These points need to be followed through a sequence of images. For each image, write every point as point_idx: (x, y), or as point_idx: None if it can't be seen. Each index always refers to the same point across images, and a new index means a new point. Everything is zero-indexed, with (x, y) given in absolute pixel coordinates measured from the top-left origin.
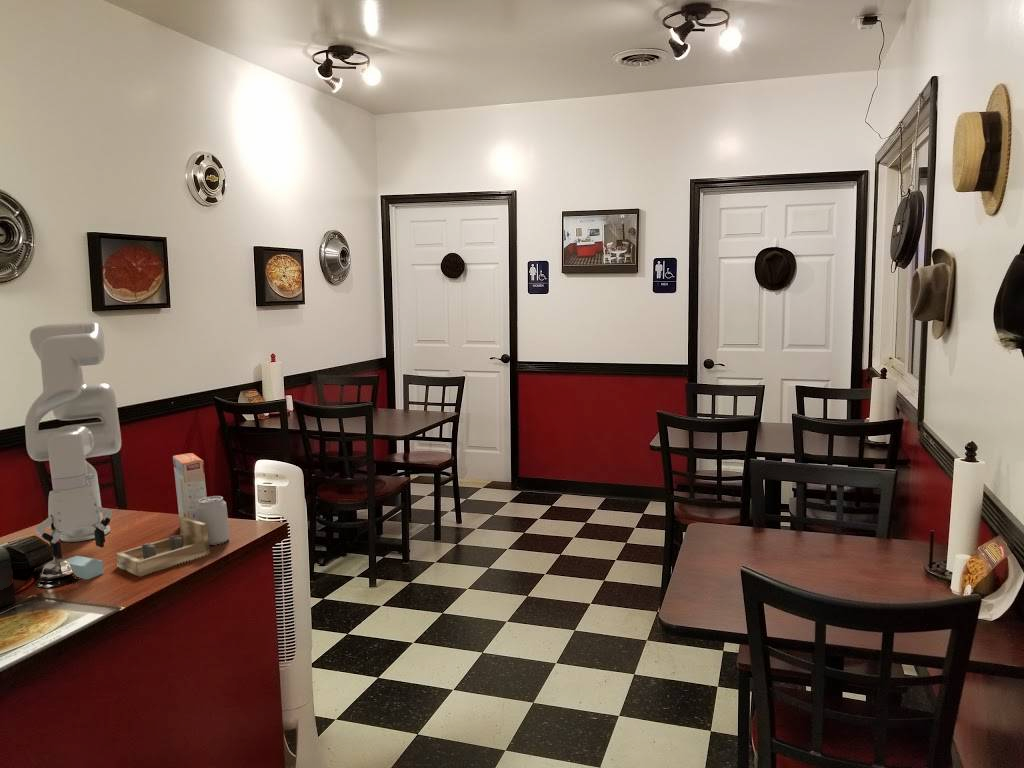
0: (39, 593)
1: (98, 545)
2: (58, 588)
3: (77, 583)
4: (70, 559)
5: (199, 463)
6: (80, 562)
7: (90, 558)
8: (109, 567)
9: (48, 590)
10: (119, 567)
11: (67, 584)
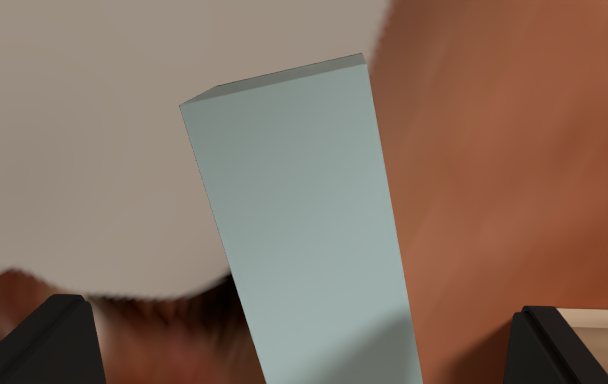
0: None
1: (509, 378)
2: (130, 346)
3: (231, 363)
4: (273, 138)
5: None
6: (299, 303)
7: (400, 277)
8: (498, 263)
9: None
10: None
11: (185, 329)
